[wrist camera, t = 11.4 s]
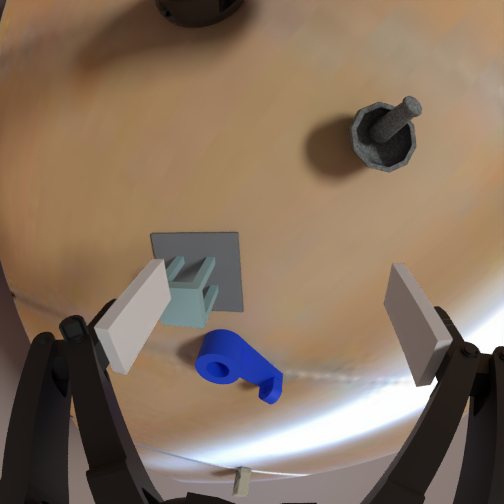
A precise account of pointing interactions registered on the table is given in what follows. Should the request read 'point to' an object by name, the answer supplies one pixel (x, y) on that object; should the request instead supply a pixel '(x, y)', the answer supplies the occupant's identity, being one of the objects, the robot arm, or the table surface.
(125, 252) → the table surface
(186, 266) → the mat
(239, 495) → the grey stone block
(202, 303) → the slotted teal block
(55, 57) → the table surface
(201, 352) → the bracket
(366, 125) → the mortar and pestle
